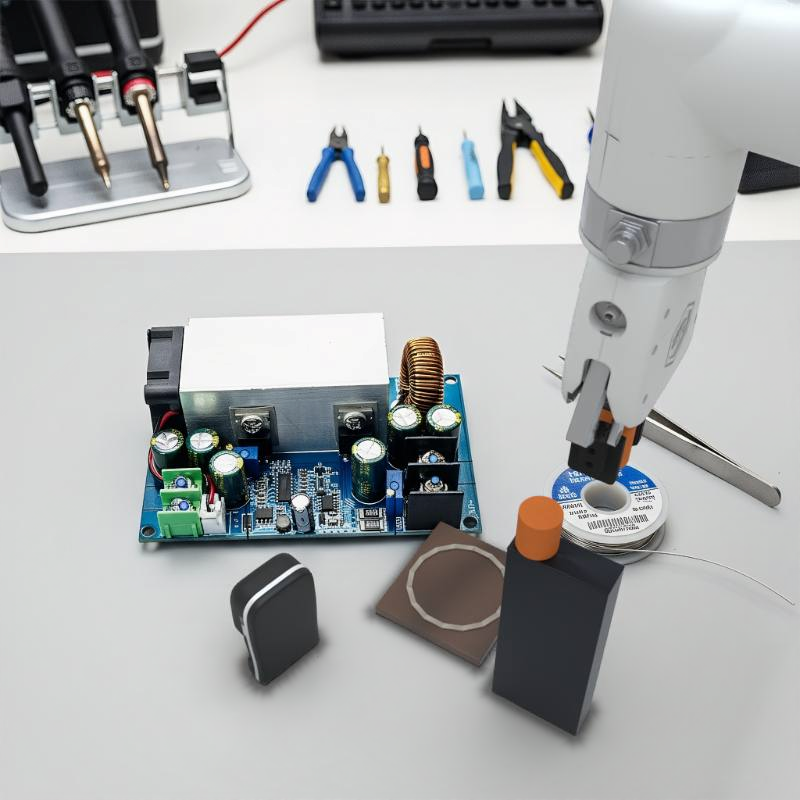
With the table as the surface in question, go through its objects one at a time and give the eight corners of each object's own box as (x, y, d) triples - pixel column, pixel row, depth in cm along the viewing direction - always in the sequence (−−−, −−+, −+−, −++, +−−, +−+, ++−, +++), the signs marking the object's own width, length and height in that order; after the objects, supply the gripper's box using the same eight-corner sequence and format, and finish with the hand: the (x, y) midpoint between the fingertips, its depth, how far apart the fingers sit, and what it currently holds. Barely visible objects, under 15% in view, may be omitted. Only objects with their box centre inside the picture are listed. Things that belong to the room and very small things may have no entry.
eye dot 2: (636, 448, 65) (645, 409, 62) (617, 479, 63) (626, 440, 60) (591, 430, 66) (598, 391, 63) (571, 460, 64) (577, 421, 61)
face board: (539, 573, 95) (540, 566, 94) (479, 667, 88) (479, 660, 87) (440, 527, 99) (440, 519, 99) (375, 612, 92) (374, 605, 91)
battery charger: (296, 615, 92) (285, 538, 84) (323, 641, 90) (315, 563, 82) (236, 662, 88) (219, 585, 81) (262, 689, 86) (248, 613, 79)
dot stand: (590, 708, 85) (625, 565, 71) (575, 736, 83) (608, 595, 69) (507, 665, 88) (525, 520, 74) (491, 691, 86) (506, 547, 72)
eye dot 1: (566, 537, 73) (571, 506, 71) (547, 567, 71) (551, 536, 69) (527, 520, 74) (531, 489, 72) (507, 549, 72) (510, 518, 70)
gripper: (667, 320, 45) (608, 566, 58) (771, 162, 55) (701, 401, 68) (519, 269, 48) (494, 515, 61) (644, 128, 58) (599, 363, 71)
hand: (604, 452), depth 64 cm, fingers closed on eye dot 2, 3 cm apart
